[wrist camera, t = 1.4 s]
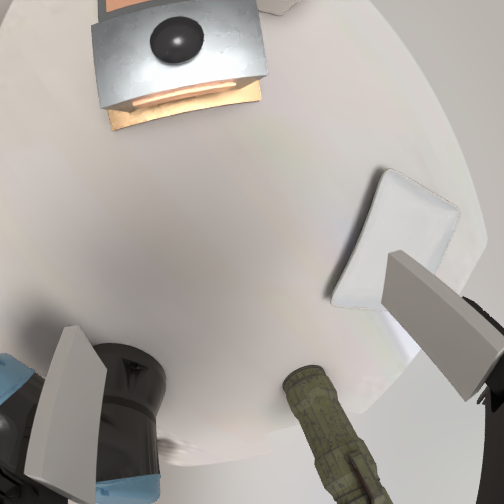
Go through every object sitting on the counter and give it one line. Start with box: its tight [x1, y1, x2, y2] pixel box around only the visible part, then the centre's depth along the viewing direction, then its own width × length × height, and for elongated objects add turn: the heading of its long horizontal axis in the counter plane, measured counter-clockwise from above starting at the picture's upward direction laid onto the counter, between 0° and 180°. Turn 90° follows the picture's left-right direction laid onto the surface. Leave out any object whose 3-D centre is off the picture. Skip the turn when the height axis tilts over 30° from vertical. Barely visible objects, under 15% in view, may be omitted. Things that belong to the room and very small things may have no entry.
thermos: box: [283, 365, 393, 504], centre depth 36 cm, size 9×12×35 cm
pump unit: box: [91, 0, 268, 131], centre depth 19 cm, size 16×10×12 cm, turn 98°
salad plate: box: [330, 169, 461, 311], centre depth 40 cm, size 21×21×3 cm
